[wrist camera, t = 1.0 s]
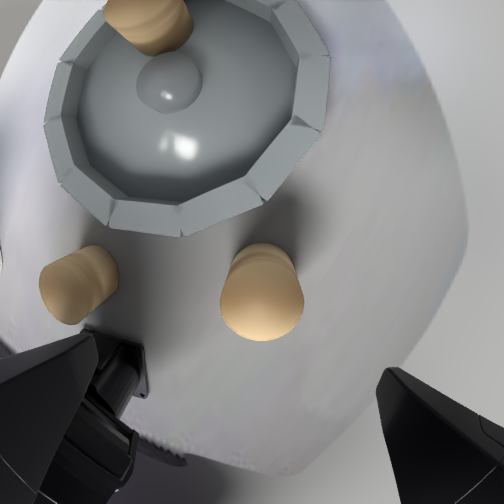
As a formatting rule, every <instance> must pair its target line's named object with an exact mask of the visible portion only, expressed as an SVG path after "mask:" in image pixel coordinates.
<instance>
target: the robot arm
mask: <svg viewBox="0 0 504 504" xmlns="http://www.w3.org/2000/svg"><path fill="white" fill-rule="evenodd" d="M137 349H138V350H139V351H138V350H137ZM132 396H136V397H139V398H143V399H146V398H147V396H148V387H147V379H146V369H145V359H144V349H143V347H142V346H141V345H140V344H137V343H133V342H129V341H125V340H122V339H118V338H115V337H111V336H108V335H104V334H101V333H98V332H94V331H91V330H88V329H82V330H81V331H80V334H77V335H74V336H71V337H68V338H65V339H62V340H59V341H56V342H53V343H50V344H46V345H43V346H40V347H37V348H34V349H31V350H28V351H25V352H22V353H18V354H15V355H12V356H9V357H6V358H2V359H0V504H106V503H107V501H108V500H109V498H110V497H111V496H112V494H113V493H114V492H116V491H118V490H119V489H121V488H122V487H123V486H124V485H125V483H126V482H127V481H128V480H129V478H130V476H131V474H132V471H133V468H134V462H135V456H136V449H137V443H138V437H139V433H138V432H136V431H135V430H134V429H133V430H132V429H131V428H129V427H128V426H127V425H126V424H124V423H123V422H122V421H121V420H119V419H120V418H121V416H122V414H123V412H124V410H125V408H126V406H127V404H128V403H129V401H130V399H131V397H132ZM376 397H377V402H378V408H379V413H380V419H381V425H382V430H383V434H384V438H385V442H386V445H387V449H388V453H389V456H390V460H391V464H392V468H393V471H394V475H395V479H396V484H397V488H398V492H399V497H400V501H401V504H504V428H503V427H501V426H499V425H497V424H495V423H493V422H491V421H489V420H488V419H486V418H484V417H482V416H481V415H478V414H477V413H475V412H473V411H472V410H470V409H468V408H466V407H464V406H463V405H461V404H459V403H458V402H456V401H454V400H453V399H451V398H449V397H447V396H446V395H444V394H442V393H441V392H439V391H437V390H436V389H434V388H432V387H430V386H429V385H427V384H425V383H424V382H422V381H420V380H419V379H417V378H415V377H414V376H412V375H410V374H408V373H407V372H405V371H404V370H402V369H400V368H399V367H388V368H386V369H385V370H384V372H383V374H382V376H381V379H380V381H379V383H378V385H377V388H376Z"/></svg>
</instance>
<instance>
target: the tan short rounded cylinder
mask: <svg viewBox="0 0 504 504" xmlns="http://www.w3.org/2000/svg"><path fill="white" fill-rule="evenodd" d="M104 18H105V20H106V22H107V23H109V24H110V25H111V26H112V27H113V28H114V29H115V30H117V31H118V32H119V33H120V34H121V35H122V36H123V37H124V38H125V39H127V40H128V41H129V42H130V43H131V44H132V45H133V46H134V47H135V48H136V49H137V50H139V51H140V52H141V53H142V54H144V55H146V56H152V57H156V56H158V55H160V54H163V53H166V52H174V51H175V50H177V49H179V48H180V47H181V46H183V45H184V44H185V43H186V42H187V40H188V39H189V38H190V36H191V34H192V32H193V28H194V23H193V20H192V17H191V15H190V13H189V11H188V9H187V7H186V5H185V3H184V1H183V0H108V2H107V4H106V6H105V9H104Z"/></svg>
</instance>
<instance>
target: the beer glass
mask: <svg viewBox="0 0 504 504" xmlns="http://www.w3.org/2000/svg"><path fill="white" fill-rule="evenodd" d="M1 271H2V255H1V250H0V275H1Z"/></svg>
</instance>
